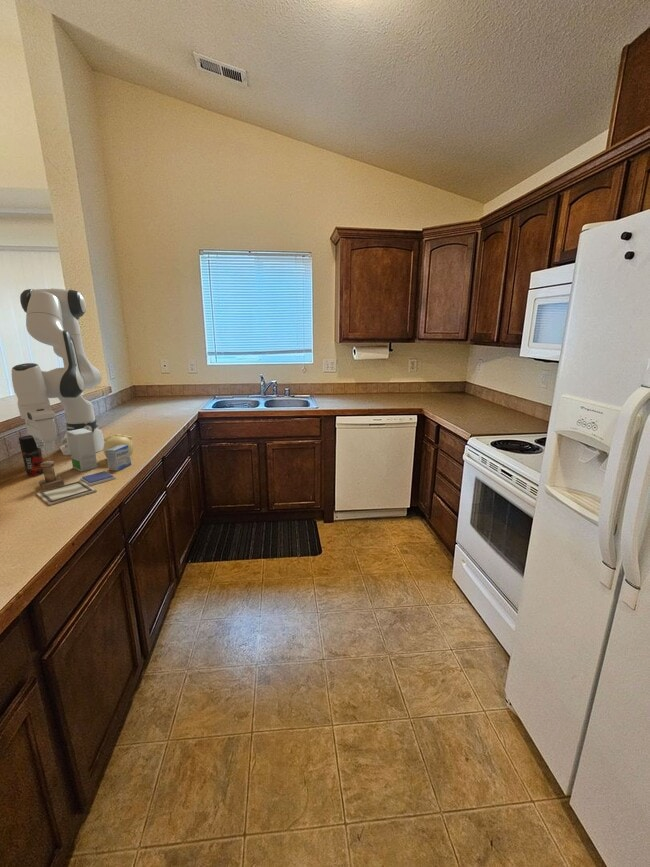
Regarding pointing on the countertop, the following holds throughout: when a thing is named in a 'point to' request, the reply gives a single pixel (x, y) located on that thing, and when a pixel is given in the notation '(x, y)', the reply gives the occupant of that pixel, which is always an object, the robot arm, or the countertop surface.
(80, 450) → the skincare box
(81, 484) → the marked board
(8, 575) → the countertop surface
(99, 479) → the ink pad
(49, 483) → the stamp
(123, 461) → the medicine box
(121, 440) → the sculpture
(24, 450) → the deodorant
